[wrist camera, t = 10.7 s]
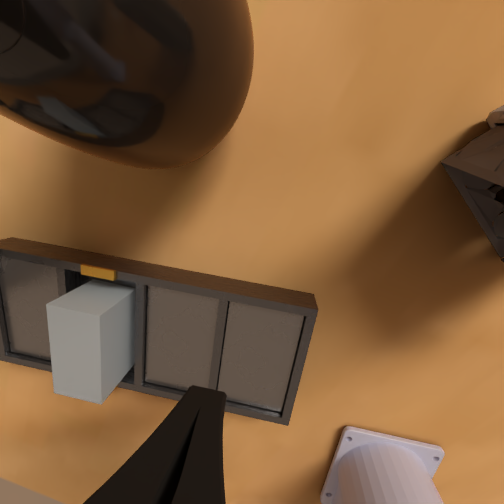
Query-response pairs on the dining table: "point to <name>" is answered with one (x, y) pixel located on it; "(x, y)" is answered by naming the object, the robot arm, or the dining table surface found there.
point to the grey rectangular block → (91, 339)
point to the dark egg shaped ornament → (127, 74)
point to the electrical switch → (483, 177)
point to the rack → (168, 326)
